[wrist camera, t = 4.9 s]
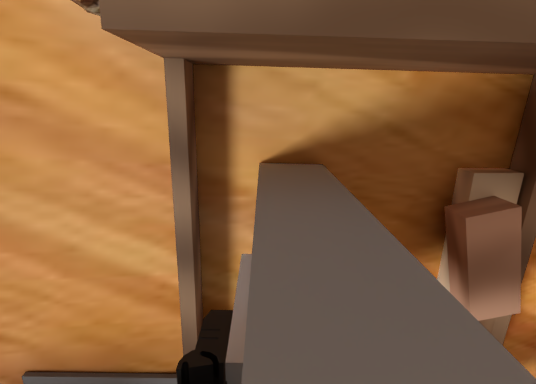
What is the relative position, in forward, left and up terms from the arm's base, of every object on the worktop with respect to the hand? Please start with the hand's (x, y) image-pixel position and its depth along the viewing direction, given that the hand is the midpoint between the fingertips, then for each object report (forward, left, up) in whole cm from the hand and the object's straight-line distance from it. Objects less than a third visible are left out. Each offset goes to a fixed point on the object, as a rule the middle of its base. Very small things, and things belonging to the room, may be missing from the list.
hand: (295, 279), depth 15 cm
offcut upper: (0, +12, -4) cm, 12 cm away
